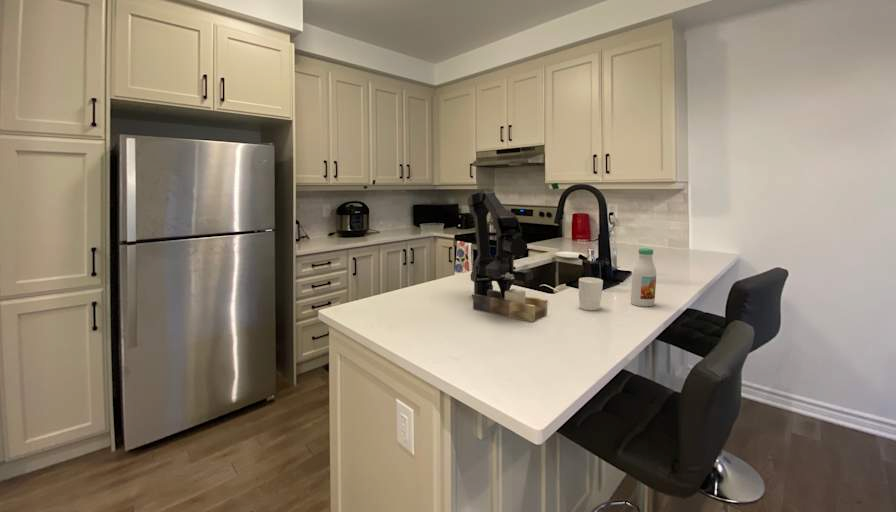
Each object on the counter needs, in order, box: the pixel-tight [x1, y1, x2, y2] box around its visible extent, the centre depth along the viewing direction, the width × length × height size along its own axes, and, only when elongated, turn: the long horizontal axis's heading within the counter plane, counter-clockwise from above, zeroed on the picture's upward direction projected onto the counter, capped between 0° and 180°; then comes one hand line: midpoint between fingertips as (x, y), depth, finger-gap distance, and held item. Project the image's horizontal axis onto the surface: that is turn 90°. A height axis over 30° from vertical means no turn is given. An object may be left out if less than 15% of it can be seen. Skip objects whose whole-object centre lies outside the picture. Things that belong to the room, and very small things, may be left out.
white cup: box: [578, 276, 604, 311], centre depth 145 cm, size 8×8×10 cm
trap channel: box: [472, 289, 549, 323], centre depth 142 cm, size 23×10×5 cm, turn 51°
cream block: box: [505, 288, 527, 303], centre depth 140 cm, size 5×5×5 cm
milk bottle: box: [630, 247, 657, 308], centre depth 148 cm, size 8×8×20 cm
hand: (504, 297), depth 143 cm, fingers closed
